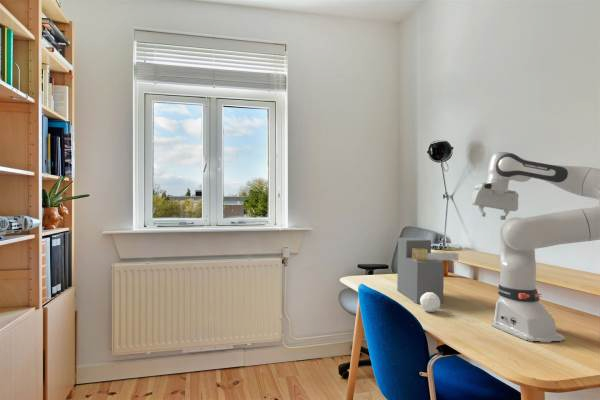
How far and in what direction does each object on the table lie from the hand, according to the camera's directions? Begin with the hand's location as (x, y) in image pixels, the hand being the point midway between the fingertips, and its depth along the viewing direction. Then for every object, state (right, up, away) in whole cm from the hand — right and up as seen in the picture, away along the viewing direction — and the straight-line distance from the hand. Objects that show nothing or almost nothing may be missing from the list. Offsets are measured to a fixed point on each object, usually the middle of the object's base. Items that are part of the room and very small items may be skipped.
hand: (492, 218), depth 163 cm
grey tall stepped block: (-32, -37, +4) cm, 49 cm away
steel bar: (-26, -19, 0) cm, 32 cm away
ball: (-35, -37, -17) cm, 54 cm away
